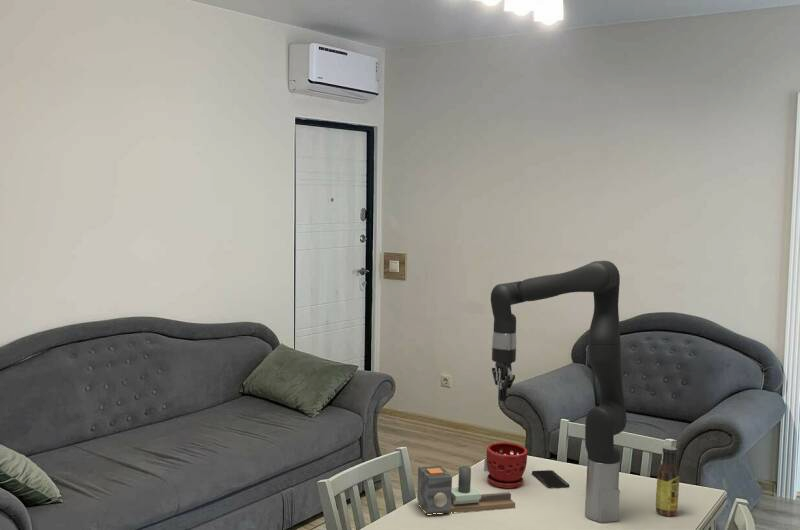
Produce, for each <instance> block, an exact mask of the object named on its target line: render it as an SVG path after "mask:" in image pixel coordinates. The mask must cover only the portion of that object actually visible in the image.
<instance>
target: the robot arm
mask: <svg viewBox="0 0 800 530" xmlns="http://www.w3.org/2000/svg"><path fill="white" fill-rule="evenodd" d="M620 277H621V276H620V271H619V268H618V267H617V265H615V263H613V262H611V261H609V260H596V261H591V262H590V263H587V264H584V265H583V266H580V267H577V268H574V269H571V270H568V271H565V272H561V273H555V274H554V273H553V274H545V275H541V276H535V277H531V278H525V279H524V280H520V281H519V280H518V281H513V282H505V283H498V284H496V285H495V286H494V287H493V288H492V290H491V293H490V305H491V309H492V310H491V311H492V316H493V333H492V339H491V340H492V346H491V361H493V362H495V367H491V372H492V375H493V377H492V378H493V380H494V385H495V386H497V389H498V391H497V392H498V395H497V399H498V401H500V402H506V401H507V396H508V395H507V390H508V389H509V390H510V389H511V387H512V385H513V383H514V381H515V379H516V375H515V374H513V373H512V371H513V370H512V363H515V362H516V360H517V317H516V315H515V314H514V313H512V306H513V305H517V304H521V303H525V302H536V301H541V300H546V299H551V298H553V297H558V296H561V295H565V294H570V293H592V294H593V301H594V302H593V314H592V319H591V322H590V327H589V331H588V335H587V336H588V338H587V344H588V348H587V349H588V359H589V364H590V366H591V369H592V371H593V373H594V375H595V377H596V379H597V382H598V386H599V391H600V393H599V396H600V403H599V405H598V406H594V407H592V408H591V409H590V410H589V411H588V412H587V414H586V417H585V424H584V430H585V431H584V433H585V434H584V436H585V437H584V438H585V439H584V444H585V448H586V452H587V458H586V459H587V460H586V461H587V463H586V464H587V465H586V484H585V485H586V486H585V503H584V505H585V506H584V515H585V516H586V518H587V519H589V520H592V521H595V522H598V523H599V524H600V523H601V524H602V523H611V522H613V523H614V522H619V517H620V516H619V515H620V514H619V511H620V493H621V491H620V489H619V483H620V465H621V464H620V463H621V453H620V450H619V449H618V448H616V447H615V445H614V444H615V443H614V441H615V440H614V436H616V435H618V434H621V433H622V432H623V431H624V430H625V428H626V426H627V420H628V419H627V410H626V402H625V397H624V390H623V389H624V387H623V372H622V349H621V346H622V345H621V330H620V328H621V327H620V315H619V298H620V297H619V296H620V285H621V283H620V279H621V278H620Z"/></svg>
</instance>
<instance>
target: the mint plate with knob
mask: <svg viewBox="0 0 800 530" xmlns="http://www.w3.org/2000/svg"><path fill="white" fill-rule="evenodd" d="M471 478H472V468H471V467H470V466H464V465H463V466H459V467H458V483H457V484H458V485H457V486H458V487H452V492H451V497H452V498H453V504H454V505H455V504H466V503H477V502H479V499H481V495H482V493H480V492H479V491H478V490H477V489H476V488H475V487H474V486H472V485H471V482H472V481H471V480H472V479H471Z"/></svg>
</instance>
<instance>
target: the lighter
mask: <svg viewBox="0 0 800 530" xmlns="http://www.w3.org/2000/svg"><path fill="white" fill-rule="evenodd" d="M501 452H502V450H500V453H501ZM503 455H505V454H503ZM483 459H484V461H483V471H484V470H485V471H488V467H487V457H484V458H483ZM485 471H484V472H485Z"/></svg>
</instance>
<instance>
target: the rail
mask: <svg viewBox="0 0 800 530" xmlns="http://www.w3.org/2000/svg"><path fill="white" fill-rule="evenodd" d="M432 468H440V469H441V470H442V471H443V472H444V474H437V475H429V474H428V473H427V472H426V469H432ZM417 471H418V472H417V505H418V504H419V505H420V506H421V508H422V509H423V510H424V511H425V512H426V513H427V514H433V513H436V514H437V513H451V512H452V513H453V514H455V513H454V512H464V513H469V512H468V511H475V512H482V511H483V510H486V511H493V510H495V509H497V510H506V509H516V502H515V501H514V500H513V499H512V494H511V493H510V492H509V491H508V492H506V491H505V492H497V493H494V492H493V493H484V494H483V493H481V499H479V502H477V503H466V504H455V505H454V504H453V498H452V497H451V492H452V488H453V480H452V479H453V476H452V475H451V474H450V473H449V472H448V471H447V470H446V469H444V468H443V466H442V465H433V466H432V465H431V466H430V465H429V466H418V467H417ZM421 508H420V509H421ZM481 510H482V511H481ZM483 512H484V511H483Z"/></svg>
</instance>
